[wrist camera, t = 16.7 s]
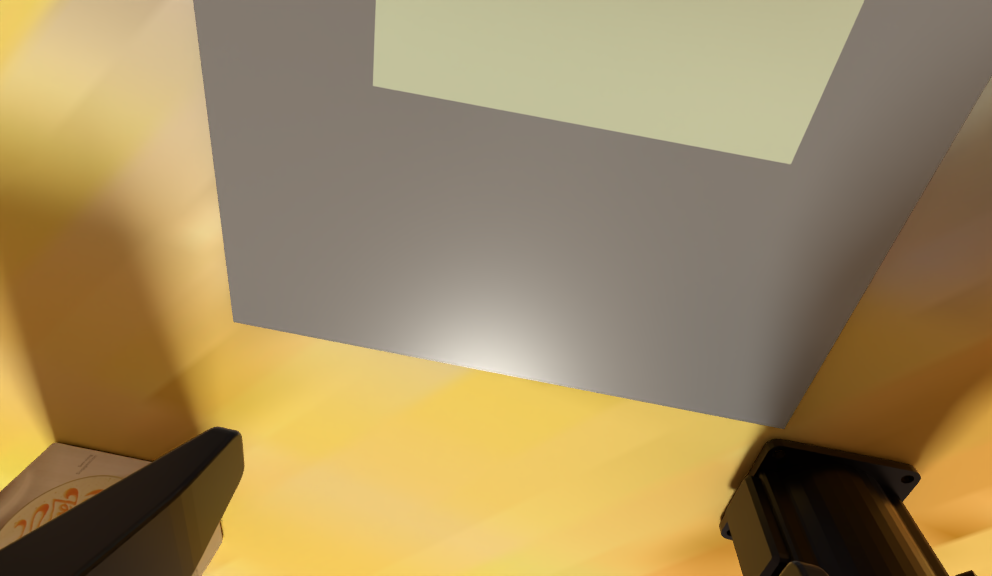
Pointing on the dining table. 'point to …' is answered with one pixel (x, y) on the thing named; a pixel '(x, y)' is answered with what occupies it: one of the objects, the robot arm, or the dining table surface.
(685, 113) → the sage brick
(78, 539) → the robot arm
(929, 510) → the dining table surface
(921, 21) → the baseplate
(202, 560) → the coffee box
